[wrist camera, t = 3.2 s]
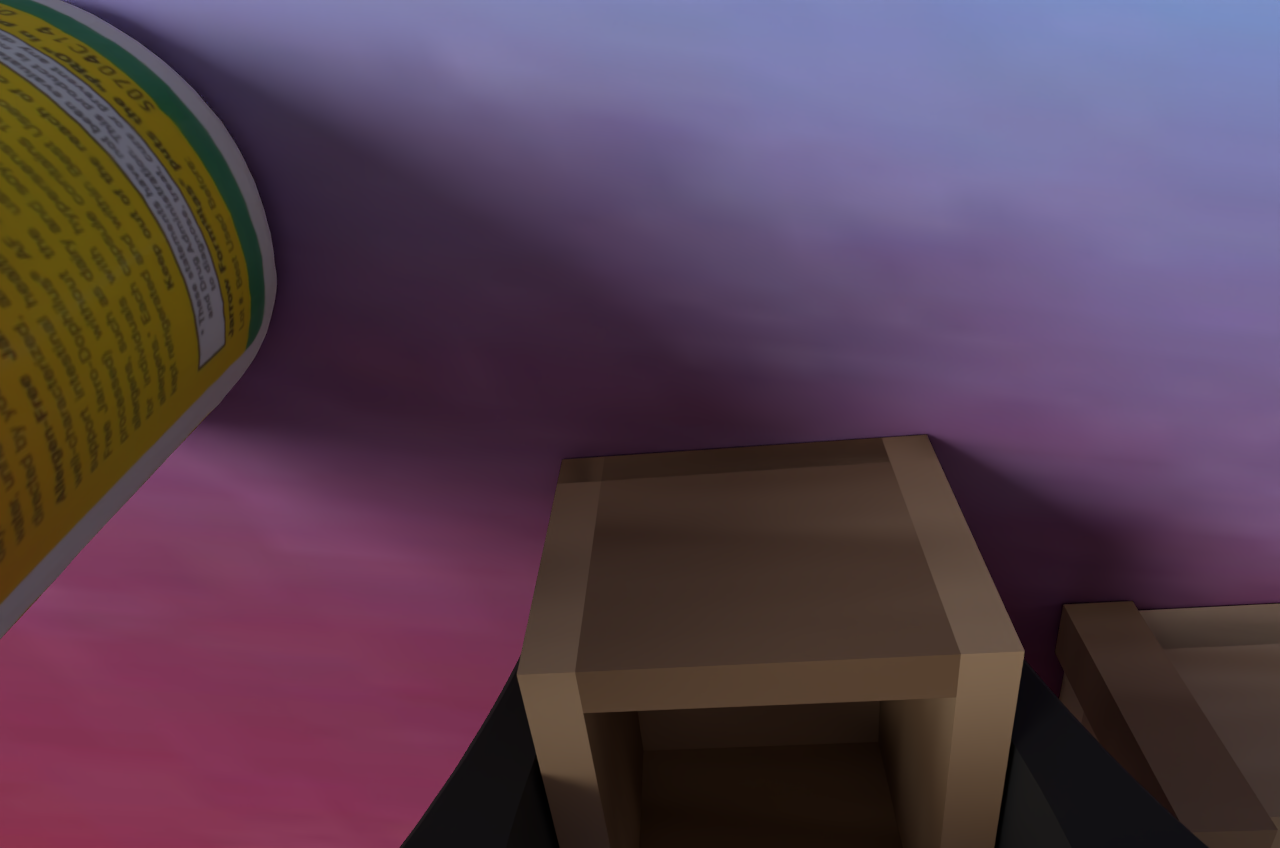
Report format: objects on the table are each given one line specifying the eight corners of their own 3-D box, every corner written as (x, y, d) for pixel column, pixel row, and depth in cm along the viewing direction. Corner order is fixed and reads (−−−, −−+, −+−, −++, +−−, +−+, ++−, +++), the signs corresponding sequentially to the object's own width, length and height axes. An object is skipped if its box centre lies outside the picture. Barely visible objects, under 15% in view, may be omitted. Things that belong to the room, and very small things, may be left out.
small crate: (906, 735, 15) (973, 984, 12) (614, 747, 15) (595, 989, 12) (926, 434, 12) (1024, 650, 9) (562, 458, 12) (516, 675, 9)
